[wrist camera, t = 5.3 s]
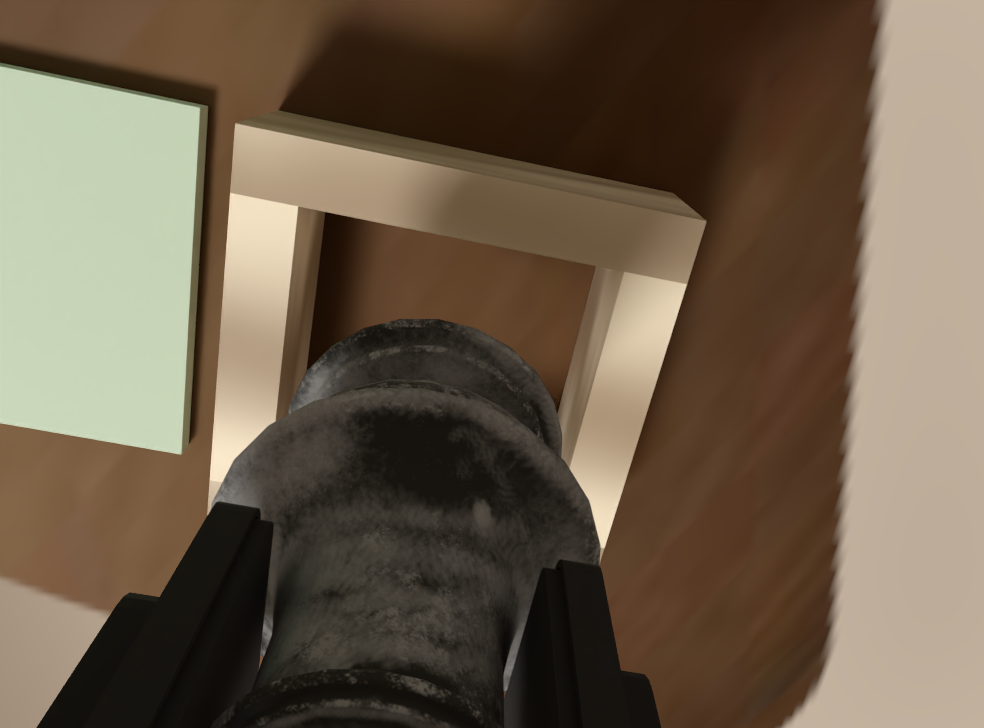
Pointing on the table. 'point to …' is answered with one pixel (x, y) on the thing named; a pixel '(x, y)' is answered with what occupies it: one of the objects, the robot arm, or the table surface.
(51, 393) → the mat
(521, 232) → the holder
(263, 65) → the table surface
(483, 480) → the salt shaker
